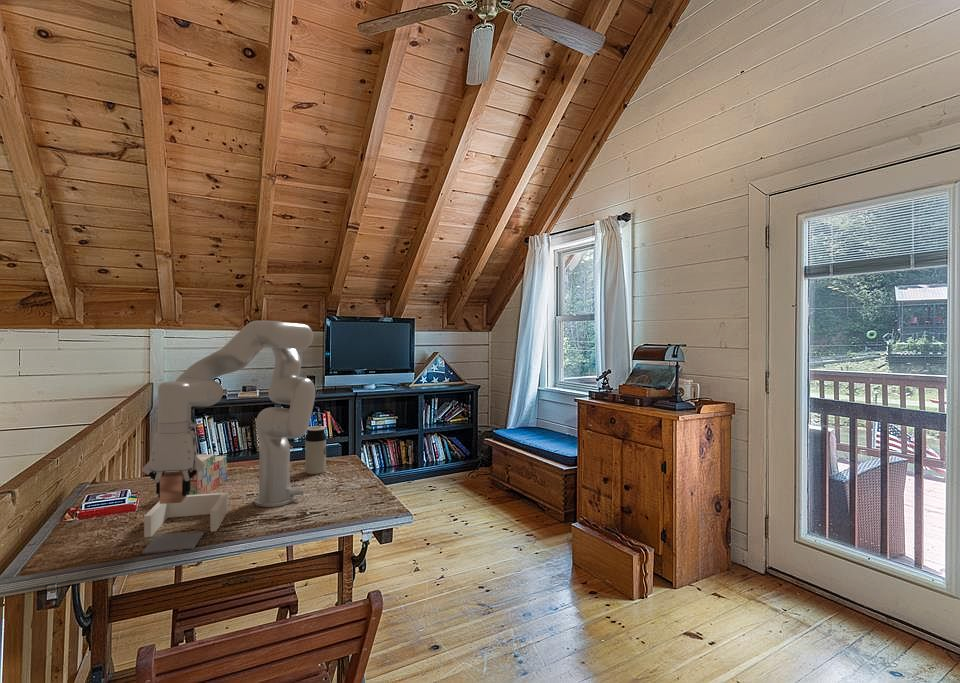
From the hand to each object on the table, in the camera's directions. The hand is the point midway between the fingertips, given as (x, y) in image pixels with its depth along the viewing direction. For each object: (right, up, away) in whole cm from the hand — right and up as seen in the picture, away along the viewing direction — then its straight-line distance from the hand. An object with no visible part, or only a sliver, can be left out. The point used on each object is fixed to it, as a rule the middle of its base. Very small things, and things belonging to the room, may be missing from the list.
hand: (173, 494), depth 132 cm
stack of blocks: (-17, -12, +45) cm, 50 cm away
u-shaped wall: (-4, -13, +14) cm, 19 cm away
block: (0, -2, 0) cm, 2 cm away
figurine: (+3, -12, +68) cm, 69 cm away
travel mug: (+15, -12, +68) cm, 71 cm away
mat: (0, -13, +1) cm, 13 cm away
